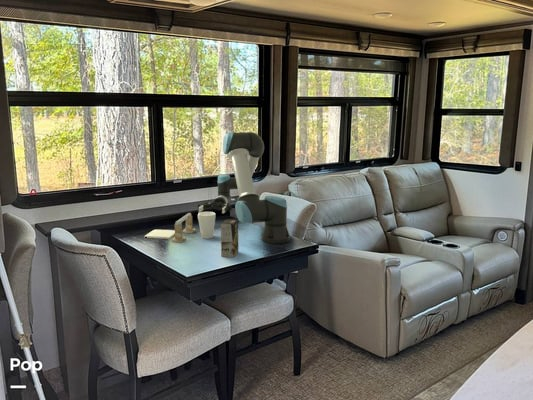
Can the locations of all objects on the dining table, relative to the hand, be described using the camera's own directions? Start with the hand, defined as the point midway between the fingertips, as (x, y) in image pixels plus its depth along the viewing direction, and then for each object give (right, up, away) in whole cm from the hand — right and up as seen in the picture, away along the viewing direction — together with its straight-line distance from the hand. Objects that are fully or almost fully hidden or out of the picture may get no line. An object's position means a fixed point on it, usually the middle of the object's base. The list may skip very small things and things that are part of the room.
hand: (211, 210), depth 257 cm
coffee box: (+14, -20, -37) cm, 45 cm away
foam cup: (-1, -14, -8) cm, 16 cm away
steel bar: (-14, -5, -8) cm, 17 cm away
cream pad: (-27, -13, -4) cm, 30 cm away
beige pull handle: (-14, -14, -6) cm, 21 cm away
